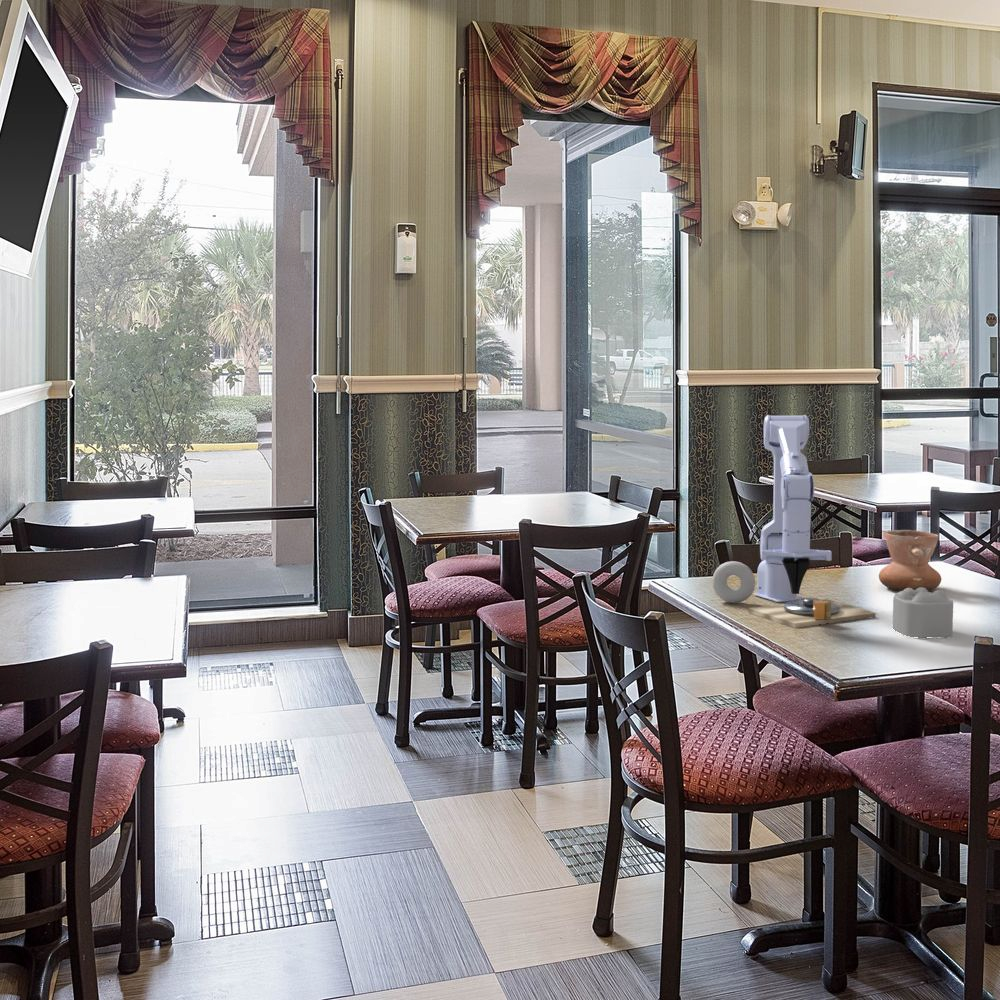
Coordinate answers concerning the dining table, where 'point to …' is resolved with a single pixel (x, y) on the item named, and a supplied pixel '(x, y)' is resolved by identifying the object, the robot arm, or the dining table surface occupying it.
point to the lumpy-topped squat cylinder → (922, 613)
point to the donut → (740, 571)
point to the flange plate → (810, 607)
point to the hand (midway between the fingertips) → (794, 593)
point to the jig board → (800, 620)
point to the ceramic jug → (910, 561)
